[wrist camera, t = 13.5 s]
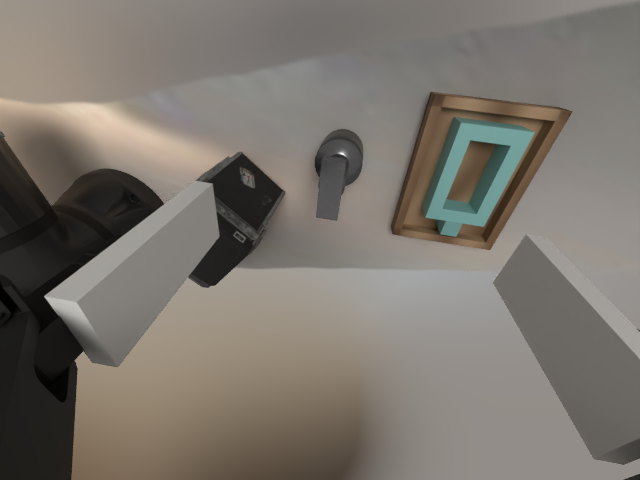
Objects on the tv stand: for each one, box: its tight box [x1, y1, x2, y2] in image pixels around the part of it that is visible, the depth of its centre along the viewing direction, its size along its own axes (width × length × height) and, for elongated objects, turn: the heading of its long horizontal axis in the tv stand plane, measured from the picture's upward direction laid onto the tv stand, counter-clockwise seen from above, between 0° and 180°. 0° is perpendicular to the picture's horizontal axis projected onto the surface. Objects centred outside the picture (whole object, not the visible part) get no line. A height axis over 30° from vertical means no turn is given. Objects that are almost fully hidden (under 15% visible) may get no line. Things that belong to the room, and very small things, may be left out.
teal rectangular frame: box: [422, 117, 535, 237], centre depth 31 cm, size 13×7×3 cm, turn 175°
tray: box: [391, 92, 573, 250], centre depth 32 cm, size 13×17×2 cm
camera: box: [188, 152, 285, 288], centre depth 33 cm, size 10×11×15 cm
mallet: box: [315, 129, 363, 221], centre depth 28 cm, size 5×6×12 cm
